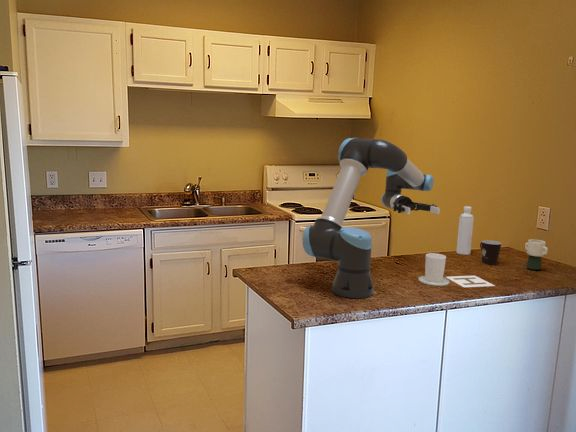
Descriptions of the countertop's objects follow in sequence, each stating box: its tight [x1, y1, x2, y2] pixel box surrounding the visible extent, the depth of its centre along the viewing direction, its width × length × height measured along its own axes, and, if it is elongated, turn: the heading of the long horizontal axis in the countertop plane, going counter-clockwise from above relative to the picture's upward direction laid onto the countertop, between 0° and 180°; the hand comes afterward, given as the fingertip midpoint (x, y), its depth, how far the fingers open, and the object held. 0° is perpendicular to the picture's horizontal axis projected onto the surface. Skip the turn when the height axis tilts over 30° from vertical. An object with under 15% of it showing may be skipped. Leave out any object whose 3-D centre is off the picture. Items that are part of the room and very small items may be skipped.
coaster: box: [418, 275, 450, 287], centre depth 207 cm, size 12×12×1 cm
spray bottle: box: [456, 206, 475, 256], centre depth 255 cm, size 7×7×25 cm
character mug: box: [524, 239, 549, 271], centre depth 230 cm, size 11×7×13 cm, turn 29°
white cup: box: [424, 252, 447, 282], centre depth 207 cm, size 8×8×10 cm
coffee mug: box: [479, 239, 502, 266], centre depth 240 cm, size 12×9×10 cm
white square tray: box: [445, 275, 496, 288], centre depth 209 cm, size 14×14×1 cm
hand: (424, 211), depth 215 cm, fingers open, 13 cm apart
